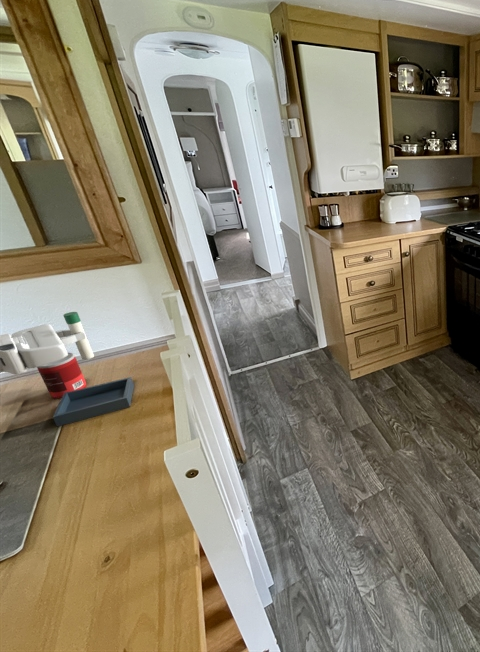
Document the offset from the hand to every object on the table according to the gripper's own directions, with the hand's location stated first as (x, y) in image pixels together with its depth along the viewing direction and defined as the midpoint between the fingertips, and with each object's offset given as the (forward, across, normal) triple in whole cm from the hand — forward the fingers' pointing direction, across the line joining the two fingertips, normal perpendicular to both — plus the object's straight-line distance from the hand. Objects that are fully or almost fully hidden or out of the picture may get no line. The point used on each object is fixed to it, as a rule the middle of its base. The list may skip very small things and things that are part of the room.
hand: (82, 332), depth 104 cm
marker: (-1, 0, -7) cm, 7 cm away
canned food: (-6, -10, -20) cm, 23 cm away
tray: (-3, +5, -20) cm, 21 cm away
